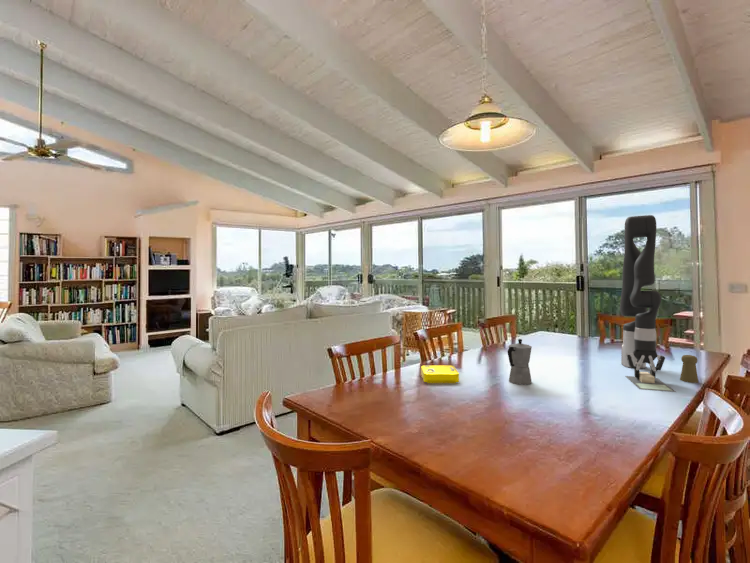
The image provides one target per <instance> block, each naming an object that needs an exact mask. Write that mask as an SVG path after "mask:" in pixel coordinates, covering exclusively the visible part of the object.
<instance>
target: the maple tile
mask: <svg viewBox="0 0 750 563" xmlns="http://www.w3.org/2000/svg"><path fill="white" fill-rule="evenodd" d="M655 378H656V376H655V377H654V376H652V375H651V374H650V372H648V371H640V374H639V379H638V380H640V381H641V382H645V383H655Z"/></svg>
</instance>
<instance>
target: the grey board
mask: <svg viewBox="0 0 750 563" xmlns="http://www.w3.org/2000/svg"><path fill="white" fill-rule="evenodd" d="M625 378H627V379H628V381H629V382H630V383H632V384H633V385H634V386H635V387H637V389H638V390H641V391H642V390H643V391H654V392H655V391H657V392H669V393H670V392H671V393H677V391H676V390H675V389H674V388H672V387H671V386H669V385H668V384H666V383H665V382H663V381H662V380H661V379H659V377H655V383H645V382H641V381H640V380H638V379H637V378H636V377H635V376H634V375H625Z"/></svg>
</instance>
